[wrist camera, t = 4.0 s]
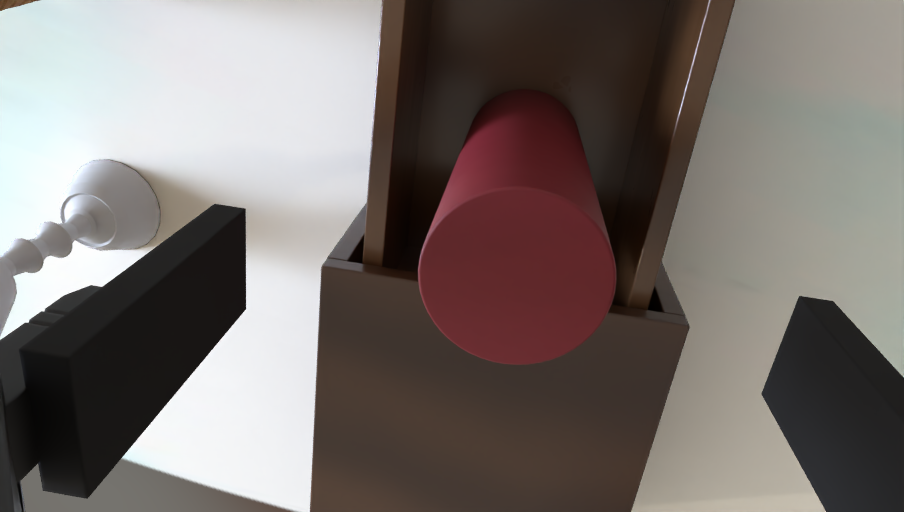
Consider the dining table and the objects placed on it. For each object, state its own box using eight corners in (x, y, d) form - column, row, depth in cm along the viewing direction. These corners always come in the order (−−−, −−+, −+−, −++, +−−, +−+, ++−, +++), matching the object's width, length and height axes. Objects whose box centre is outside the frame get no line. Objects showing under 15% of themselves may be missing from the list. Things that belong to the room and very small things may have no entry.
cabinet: (377, 187, 33) (320, 265, 24) (648, 229, 32) (690, 326, 24) (354, 471, 41) (304, 608, 32) (572, 510, 40) (583, 662, 31)
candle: (581, 86, 28) (621, 185, 15) (578, 198, 30) (612, 367, 17) (464, 90, 29) (410, 188, 16) (469, 199, 31) (424, 364, 18)
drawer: (428, -309, 24) (385, -425, 17) (770, -269, 23) (873, -373, 16) (380, 246, 33) (339, 321, 26) (625, 285, 33) (650, 373, 26)
